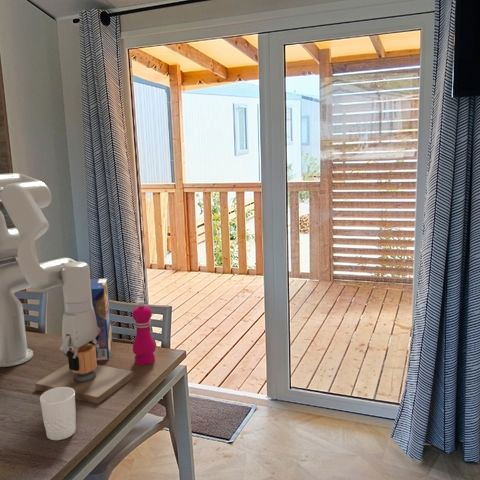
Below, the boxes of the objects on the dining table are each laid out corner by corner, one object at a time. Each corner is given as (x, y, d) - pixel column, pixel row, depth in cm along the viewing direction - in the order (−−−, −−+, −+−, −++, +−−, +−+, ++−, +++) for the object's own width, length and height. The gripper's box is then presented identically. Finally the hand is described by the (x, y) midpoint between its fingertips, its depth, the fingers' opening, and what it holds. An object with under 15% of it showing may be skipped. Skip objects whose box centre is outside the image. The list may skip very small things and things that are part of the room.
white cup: (49, 424, 122) (45, 387, 120) (81, 422, 123) (78, 385, 121) (39, 443, 114) (35, 404, 112) (73, 441, 115) (70, 402, 113)
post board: (35, 389, 139) (32, 360, 138) (74, 366, 154) (71, 339, 152) (98, 403, 131) (95, 372, 129) (132, 377, 146) (131, 349, 144)
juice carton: (109, 359, 158) (103, 288, 154) (85, 361, 157) (79, 289, 152) (112, 344, 170) (107, 278, 165) (90, 346, 169) (84, 279, 164)
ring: (66, 371, 140) (64, 351, 138) (82, 360, 146) (81, 342, 145) (85, 375, 137) (84, 355, 136) (101, 364, 143) (100, 345, 142)
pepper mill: (151, 366, 152) (147, 305, 149) (129, 365, 154) (125, 304, 150) (159, 356, 159) (156, 298, 155) (138, 355, 161) (135, 297, 157)
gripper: (88, 295, 147) (92, 350, 151) (45, 314, 131) (51, 375, 135) (108, 297, 144) (112, 354, 148) (67, 317, 129) (73, 379, 132)
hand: (83, 363), depth 141 cm, fingers closed on ring, 7 cm apart
